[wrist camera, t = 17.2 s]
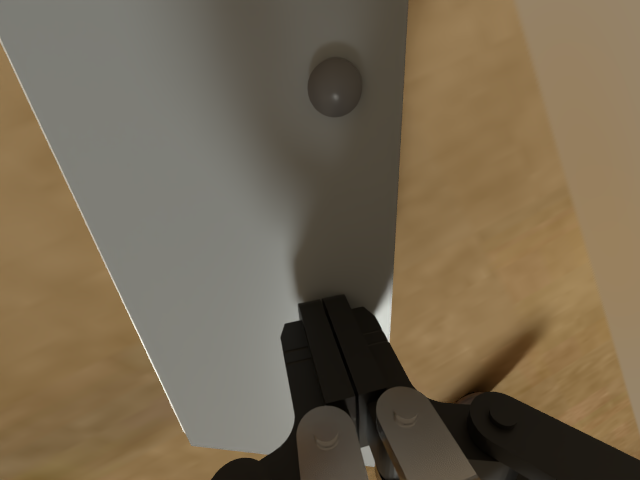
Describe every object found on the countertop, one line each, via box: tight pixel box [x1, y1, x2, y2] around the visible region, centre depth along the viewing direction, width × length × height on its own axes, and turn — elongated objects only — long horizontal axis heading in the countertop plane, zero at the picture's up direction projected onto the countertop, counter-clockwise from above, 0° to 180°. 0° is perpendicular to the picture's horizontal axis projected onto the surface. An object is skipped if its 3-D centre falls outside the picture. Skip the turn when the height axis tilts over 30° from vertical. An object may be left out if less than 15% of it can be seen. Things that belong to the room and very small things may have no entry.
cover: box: [0, 0, 408, 467], centre depth 12 cm, size 10×19×1 cm, turn 4°
